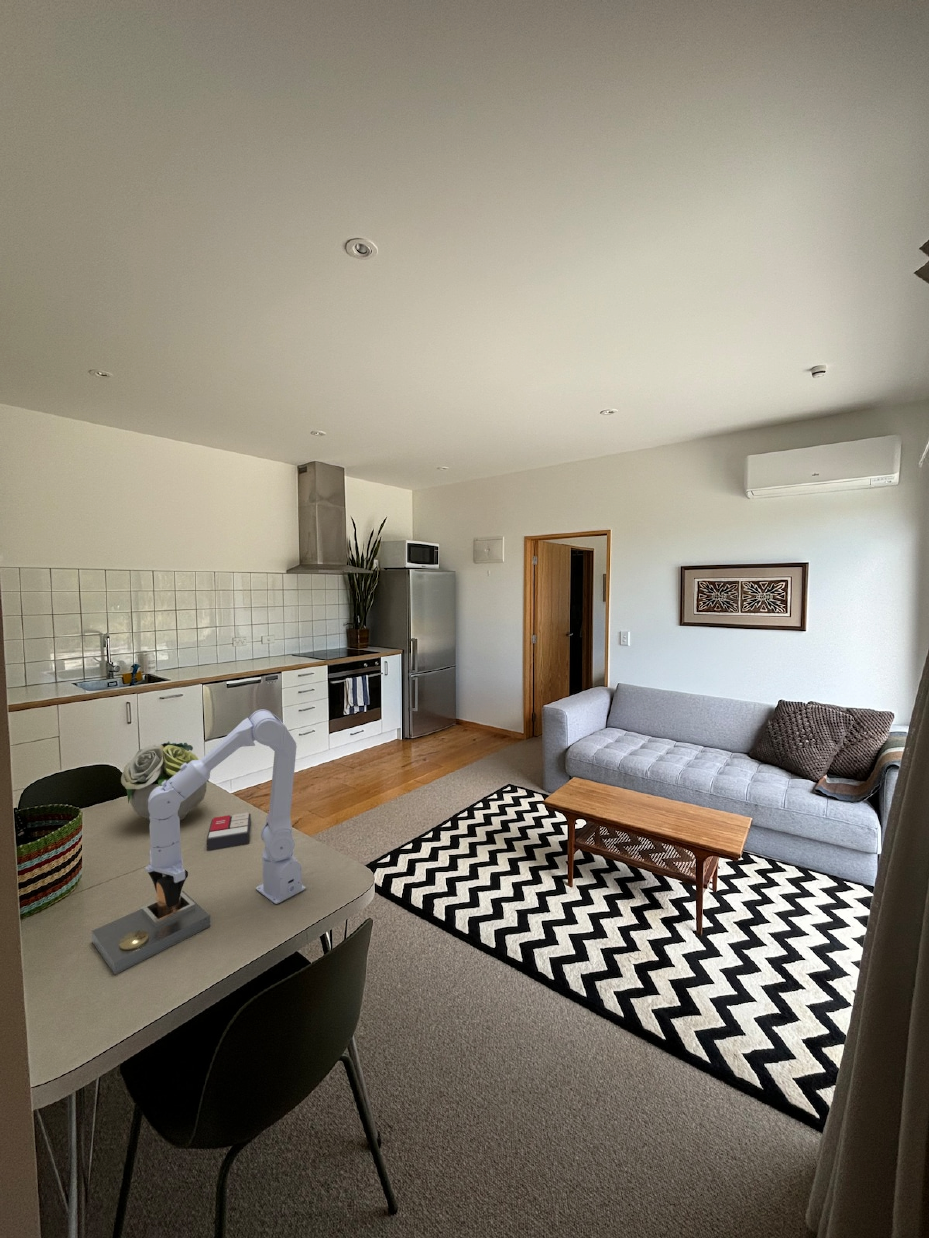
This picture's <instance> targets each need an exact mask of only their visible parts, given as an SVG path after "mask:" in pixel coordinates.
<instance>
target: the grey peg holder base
mask: <svg viewBox="0 0 929 1238" xmlns="http://www.w3.org/2000/svg"><path fill="white" fill-rule="evenodd" d="M210 927H211V915H210V914H209V913H208V911H206V910H205V909H204V908H203V907H201V906H200V905H199V903H197V902H196V901H195V900H194V899H193V898H192V897H191V896H190V895H188V894H187V893H186V892H185V891H184V890H181V909H179V910H177V911H175V912H172V913H170V914H168V915H166V916H164V917H162V918H160V919H158V910H157V899H156V900H154V901H151V902H150V903H147V904H145V905H143V906H141V907H140V909H139V910H136V911H134V912H132V913H130V914H128V915H125V916H122V917H120V918H117V919H116V920H113V921H111V922H109V923H106V924H104V925H101V926H99V927H97V928H95V929H93V930H91V941H92V944H93V945H94V947H95V948H96V950H97V951H98V952H99V954H100V956H101V957H102V959H103V960H104V962H106V964H107V966H108V968H109V969H110V970H111V972H112V973H113V975H115V976H116V975H118V974H120V973H122V972H123V971H126V970H128V969H130V968H132V967H133V966H135V965H137V964H139V963H141V962H144V961H145V960H147V959H149V958H151V957H152V956H155V955H157V954H159V953H161V952H163V951H165V950H167V949H169V948H170V947H173V946H174V945H176V944H179V943H180V942H182V941H184V940H186V939H188V938H190V937H193V936H194V935H196V934H198V933H200V932H202V931H203V930H205V929H208V928H210Z"/></svg>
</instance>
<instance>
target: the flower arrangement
mask: <svg viewBox="0 0 929 1238" xmlns="http://www.w3.org/2000/svg"><path fill="white" fill-rule="evenodd" d="M193 750H194V747H193V746H192V745H190V744H188V743H187V742H183V743H182V742H179V743H176V742H172V743H170V741H167V742H164V743H161V744H158V745H157V744H156V743H154V744H151V745H148V746H145V747H143V748H140V749H138V751H137V752H136V753H135V755H134V757H133V758H132V759H131V760H130V761H128V762H127V764H126V765H125V766H124V768H123V771H122V774H121V777H120V783H121V784H122V786H123V787H124V788H125V789H126V796H127V801H128V804H130V805H131V807H132V809H133V811H134V812H135V813H136V814H137V815H138V816H140V817H143V818H145V819H149V820H150V813H149V810H148V799H149V796H150V793H151V792H152V791H153V790H154V789H155V788H156V787H158V786H162V782H164V781H165V780H166V781H168V780H169V779H170V778H171V777H173V776H174V775H175V774H176V773H177V772H179V771H180V770H181V767H180V766H181V765H183V764H184V763H186V764H188V763H189V762H190V761H192V760H200V759H199V758H198V756H197V755H196V754H194V753H193V752H192V751H193ZM207 783H208V784H209V780H207V781H206V782H205V783H204V784H203V785H202V786H200V787H199V788H198V789H197V790H196V791H195V792H194V793H192V794H191V795H190V796H189V797H188V798H187V799H186V800H184V801H182V802H181V803H180V807H179V810H178V817H179V819H180V821H182V820H184V819H185V818H186V817H187V814H188V813H190V812H191V811H194V809H195V808H196V807H197V806H198V805H200V804H201V802H202V801H203V800H204V799H205V796H206V793H207Z"/></svg>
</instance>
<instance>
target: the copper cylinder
mask: <svg viewBox="0 0 929 1238" xmlns="http://www.w3.org/2000/svg"><path fill="white" fill-rule="evenodd" d="M164 876H167V874H164V873H162V877H164ZM156 885H157V893H156V900H157V910H158V919H160V918H162V917H164V916H166V915H168V914H170V913H172V912H175V911H177V910H179V909H181V895H180V899H179V903H178V904H176V905H174V906H172V907H170V908H168V907H167V905H166V901H165V896H164V892H163V889H162V887H161V885H160V884H159V883H158V881H157V883H156Z"/></svg>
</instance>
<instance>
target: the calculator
mask: <svg viewBox="0 0 929 1238" xmlns="http://www.w3.org/2000/svg"><path fill="white" fill-rule="evenodd" d="M251 819H252V815H251V813H249V812H242V813H236V814H232V815H229V814H228V815H223V816H217V817H215V816H214V817H213V818H212V819H211V822H210V824H209V825H210V826H209V829H208V833H207V835H206V836H207V837H206V851H207V852H210V851H217V850H223V849H227V848H233V847H241V846H246V845H250V841H251V840H250V839H251V825H252V820H251Z"/></svg>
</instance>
